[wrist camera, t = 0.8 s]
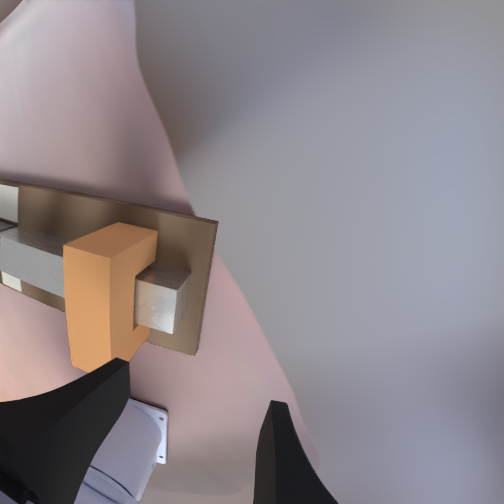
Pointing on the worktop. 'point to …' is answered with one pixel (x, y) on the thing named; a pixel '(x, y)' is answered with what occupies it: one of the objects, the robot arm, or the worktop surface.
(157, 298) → the stand
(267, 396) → the worktop surface
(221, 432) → the worktop surface
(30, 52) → the worktop surface
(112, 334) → the collar
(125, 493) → the robot arm
